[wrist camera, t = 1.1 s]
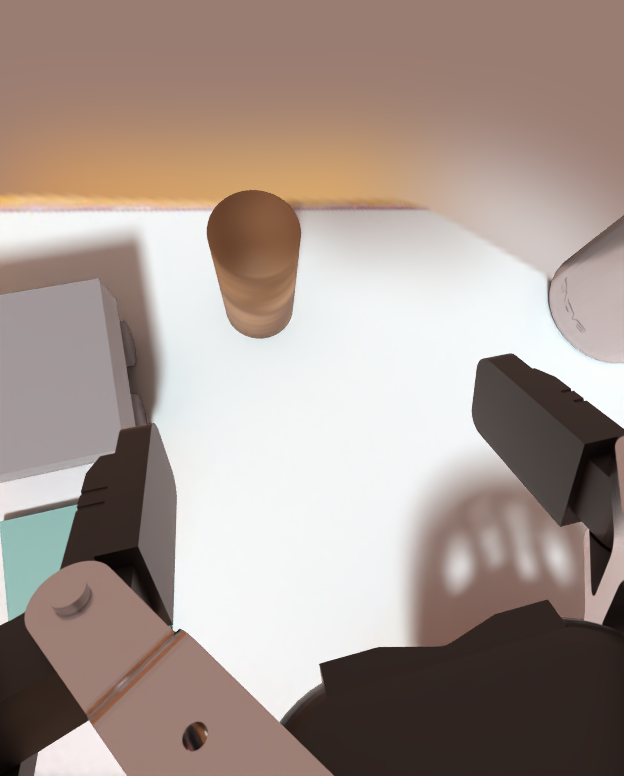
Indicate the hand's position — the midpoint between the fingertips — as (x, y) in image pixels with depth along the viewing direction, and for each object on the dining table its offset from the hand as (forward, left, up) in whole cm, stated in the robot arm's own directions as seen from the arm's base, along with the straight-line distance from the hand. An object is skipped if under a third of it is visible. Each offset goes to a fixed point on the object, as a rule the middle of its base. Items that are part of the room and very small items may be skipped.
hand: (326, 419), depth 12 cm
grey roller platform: (+14, -8, -20) cm, 26 cm away
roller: (0, -12, -21) cm, 24 cm away
